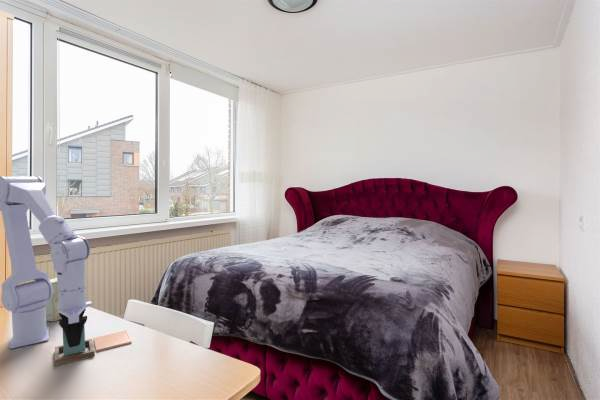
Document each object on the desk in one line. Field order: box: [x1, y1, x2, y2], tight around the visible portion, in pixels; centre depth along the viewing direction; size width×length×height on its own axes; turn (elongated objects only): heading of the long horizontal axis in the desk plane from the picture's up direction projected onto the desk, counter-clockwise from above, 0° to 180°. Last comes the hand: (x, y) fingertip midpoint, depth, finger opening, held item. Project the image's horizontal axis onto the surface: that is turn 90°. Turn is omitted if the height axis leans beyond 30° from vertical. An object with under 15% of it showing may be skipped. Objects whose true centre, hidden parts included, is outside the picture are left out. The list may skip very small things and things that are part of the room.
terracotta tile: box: [93, 330, 132, 353], centre depth 92 cm, size 8×8×1 cm
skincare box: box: [46, 277, 62, 322], centre depth 108 cm, size 6×4×12 cm
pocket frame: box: [54, 338, 96, 367], centre depth 85 cm, size 8×8×1 cm
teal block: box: [62, 326, 86, 357], centre depth 85 cm, size 4×4×7 cm
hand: (74, 341), depth 85 cm, fingers closed on teal block, 4 cm apart
